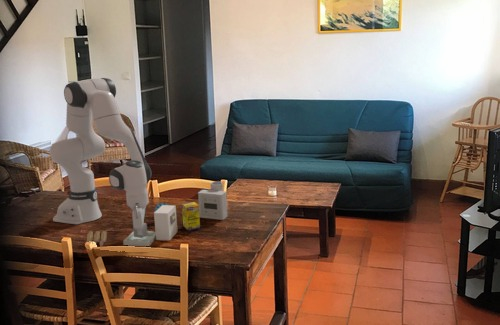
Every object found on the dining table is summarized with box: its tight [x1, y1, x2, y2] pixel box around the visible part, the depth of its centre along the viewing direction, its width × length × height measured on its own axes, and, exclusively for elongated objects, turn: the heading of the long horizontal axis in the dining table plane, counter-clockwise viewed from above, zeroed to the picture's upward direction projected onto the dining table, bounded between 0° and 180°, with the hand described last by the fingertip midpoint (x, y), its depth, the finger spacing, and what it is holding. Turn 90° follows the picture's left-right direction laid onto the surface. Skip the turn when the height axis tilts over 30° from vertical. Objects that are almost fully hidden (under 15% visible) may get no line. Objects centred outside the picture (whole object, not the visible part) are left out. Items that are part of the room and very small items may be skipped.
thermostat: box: [197, 181, 228, 221], centre depth 247 cm, size 12×14×15 cm
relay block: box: [132, 221, 148, 238], centre depth 219 cm, size 4×4×6 cm
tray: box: [122, 230, 157, 247], centre depth 220 cm, size 11×11×2 cm
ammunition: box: [86, 230, 107, 247], centre depth 218 cm, size 5×7×8 cm
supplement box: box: [181, 201, 201, 232], centre depth 231 cm, size 6×6×11 cm
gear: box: [154, 202, 169, 212], centre depth 244 cm, size 11×6×10 cm
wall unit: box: [153, 204, 178, 241], centre depth 223 cm, size 7×10×12 cm
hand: (140, 231), depth 219 cm, fingers closed on relay block, 5 cm apart
